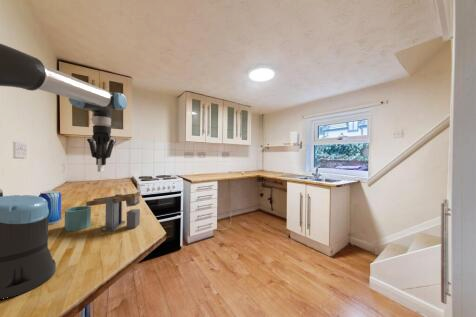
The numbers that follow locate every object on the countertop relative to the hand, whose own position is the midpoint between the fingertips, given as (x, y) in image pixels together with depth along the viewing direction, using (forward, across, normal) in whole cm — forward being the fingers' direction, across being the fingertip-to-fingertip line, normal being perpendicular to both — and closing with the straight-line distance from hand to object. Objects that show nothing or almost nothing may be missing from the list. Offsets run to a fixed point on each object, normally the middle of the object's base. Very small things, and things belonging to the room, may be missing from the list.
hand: (100, 171), depth 96 cm
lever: (+17, -10, +1) cm, 20 cm away
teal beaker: (+27, +6, +5) cm, 28 cm away
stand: (+27, -10, +5) cm, 29 cm away
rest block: (+27, -19, +5) cm, 33 cm away
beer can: (+27, +24, -1) cm, 36 cm away
